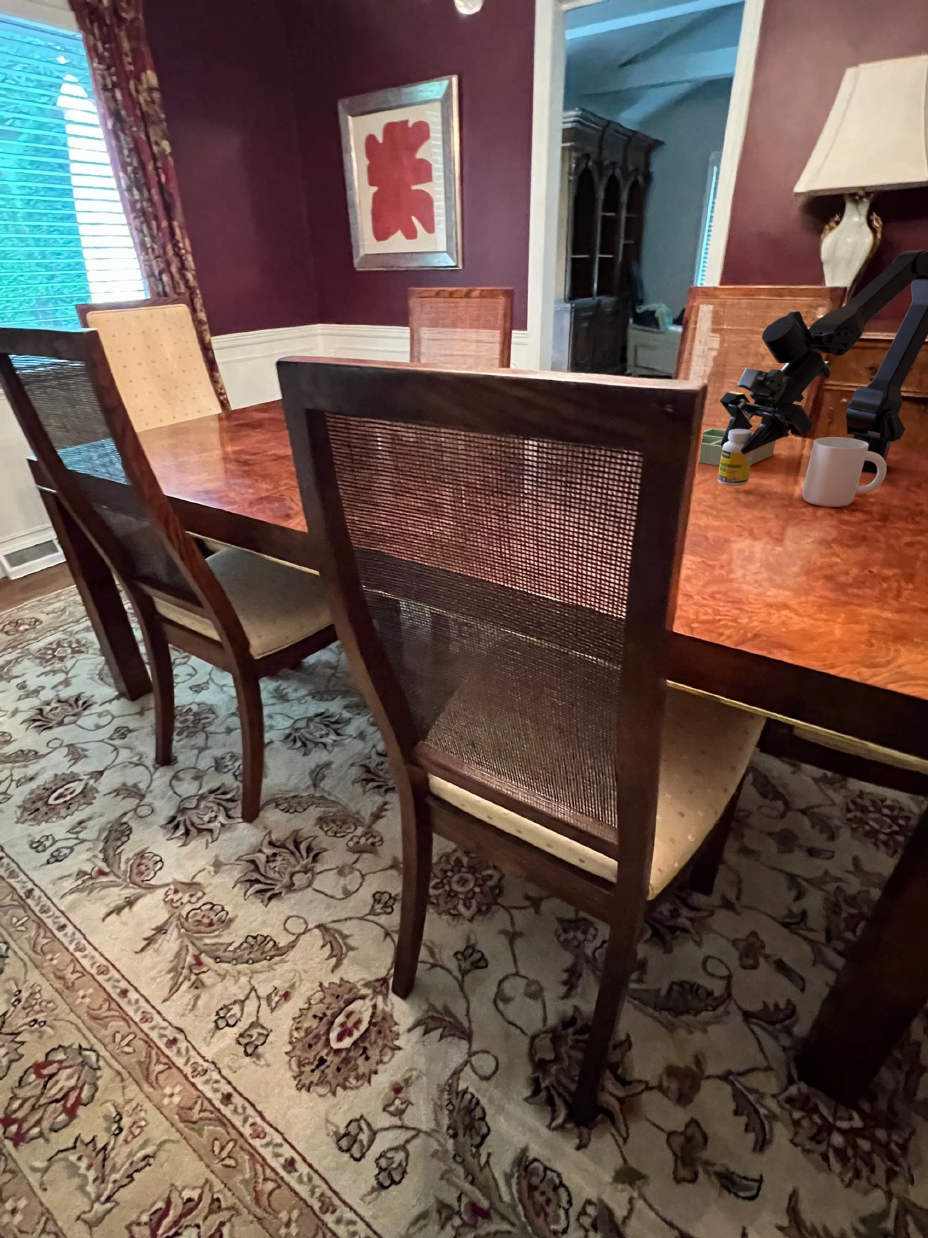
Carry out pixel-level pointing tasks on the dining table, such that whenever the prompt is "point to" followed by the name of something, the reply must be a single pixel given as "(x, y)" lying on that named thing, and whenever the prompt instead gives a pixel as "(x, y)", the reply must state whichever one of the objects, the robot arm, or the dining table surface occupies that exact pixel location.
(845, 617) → the dining table surface
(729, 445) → the supplement bottle
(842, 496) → the mug
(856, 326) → the robot arm
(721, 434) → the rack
